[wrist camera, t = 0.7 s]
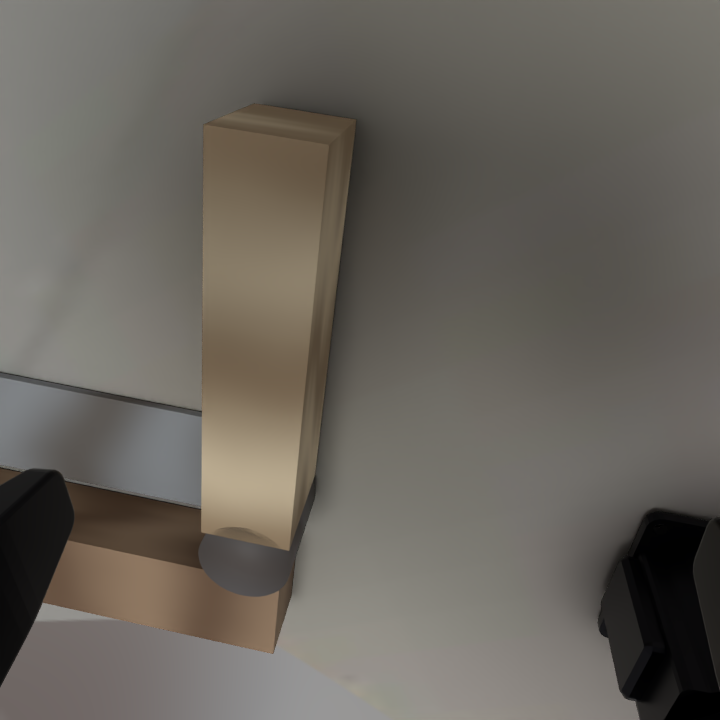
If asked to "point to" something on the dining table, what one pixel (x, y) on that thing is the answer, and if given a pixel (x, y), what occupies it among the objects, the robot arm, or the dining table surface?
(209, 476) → the oak leg
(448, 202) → the dining table surface
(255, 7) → the dining table surface
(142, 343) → the dining table surface
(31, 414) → the bench scraper
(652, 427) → the dining table surface
